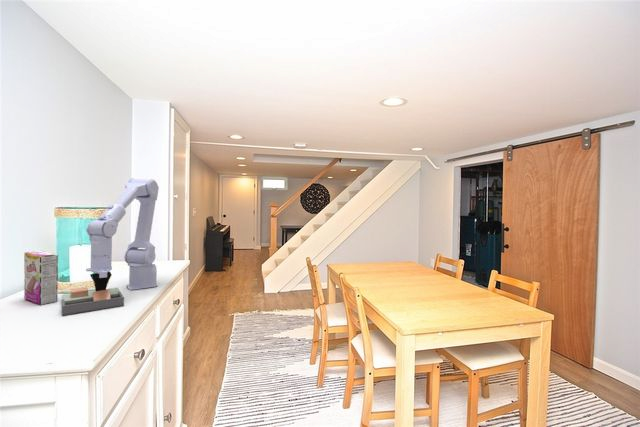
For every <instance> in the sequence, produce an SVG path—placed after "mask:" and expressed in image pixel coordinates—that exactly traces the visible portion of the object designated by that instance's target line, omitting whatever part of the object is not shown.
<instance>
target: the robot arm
mask: <svg viewBox="0 0 640 427" xmlns="http://www.w3.org/2000/svg"><path fill="white" fill-rule="evenodd" d="M124 187H125V190H124V191H123V192H122V194H121V195H120V197H119V198H118V199H117V201H116V202H115V203H110V204H108V205H107V206H106V208H105V209H104V210H103V211H102V213H101V214H100V215H99V217H98V218H97V219H95V220H92V221H90V222H89V223H88V225H87V228H85V229H86V234H87V235H88V236H89V239H88V240H89V241H90V267H87V268H86V269H85V271H86V272H92V273H91V274H90V278H91V279H92V281H93V285H94V289H95V290H96V291H101V290H106V289H107V286H108V284H109V281H110V279H111V277H112V273H111V271H112V270H113V266H112V256H113V255H112V250H113V236H114V235H116V233H117V230H118V226H119V223H120V222H121V221H122V219H123V217H124V216H125V215H126V213H127V211H126V208H127V207H129V205H131V204H132V202H133V201H134V200H135V199H136V201H138V202H139V203H140V204H139V209H138V210H139V211H138V217H137V222H136V228H135V230H136V231H135V236H134V241H132V242H130V243H129V244H128V245H127V248H126V249H127V250H126V251H125V253H124V256H123V257H124V262H126V264H127V266H129V267H128V268H129V275H128V284H126V286H125V287H126V288H128V290H129V291H133V290H143V289H149V288H156V287H157V277H158V276H157V275H158V274H157V272H158V271H157V269H158V268H157V266H156V264H155V263H154V262H155V260H156V247H155V245H154V244H152V242H150V239H151V234H152V228H153V221H154V215H155V208H156V202H157V200H158V194H159V189H160V186H159V184H158V183H157V181H156V180H155V179H146V178H145V179H142V178H141V179H140V178H130V179H129V180H127V182H126V183H125V186H124ZM95 290H94V291H95Z"/></svg>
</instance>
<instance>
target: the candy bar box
mask: <svg viewBox="0 0 640 427" xmlns="http://www.w3.org/2000/svg"><path fill="white" fill-rule="evenodd" d="M23 256H24V259H23V260H24V262H23V263H24V264H23V266H24V267H23V269H24V272H23V273H24V280H23V281H24V282H23V284H24V287H23V288H24V290H23V292H24V295H23V296H24V297H23V299H24V300H25V301H28V302H31V303H34V304H36V305H39V306H43V305H47V304H48V305H49V304H52V303H55V302H57V303H58V288H59V286H58V285H59V284H58V272H59V269H58V267H59V266H58V264H59V259H58V257H59V254H57V253H53V252H49V251H43V250H36V251H33V250H32V251H26V252H24V254H23Z"/></svg>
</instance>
